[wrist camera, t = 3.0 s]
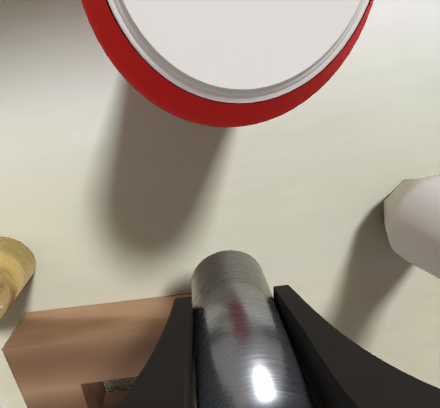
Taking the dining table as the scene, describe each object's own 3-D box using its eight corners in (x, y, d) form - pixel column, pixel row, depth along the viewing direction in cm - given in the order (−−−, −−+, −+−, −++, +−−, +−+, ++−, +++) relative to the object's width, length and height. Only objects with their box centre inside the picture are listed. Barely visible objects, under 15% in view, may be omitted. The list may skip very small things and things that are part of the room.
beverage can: (259, -54, 15) (476, -395, 4) (265, 87, 17) (407, 122, 6) (126, -43, 15) (-47, -383, 4) (151, 100, 17) (95, 161, 6)
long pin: (263, 306, 16) (318, 467, 9) (194, 314, 16) (202, 486, 9) (262, 246, 15) (326, 387, 8) (187, 254, 14) (192, 406, 8)
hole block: (216, 407, 27) (220, 446, 24) (69, 429, 26) (55, 471, 23) (205, 291, 22) (209, 323, 19) (24, 312, 21) (1, 349, 19)
